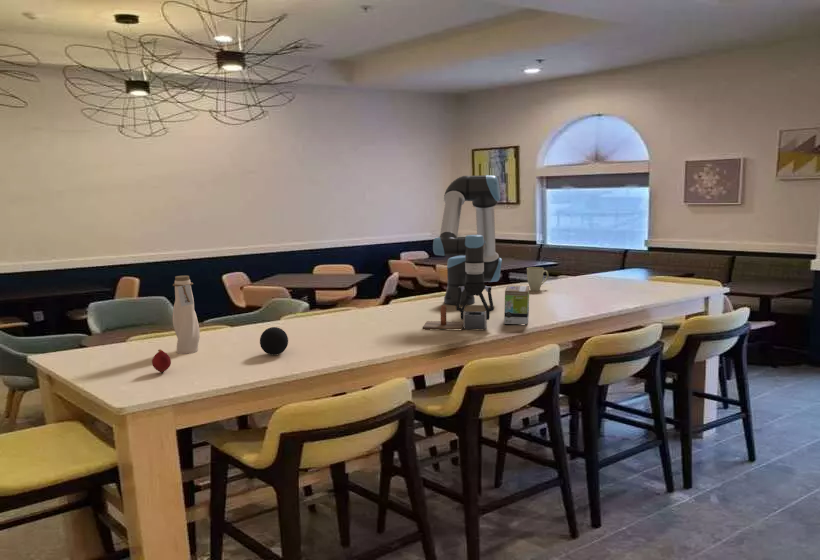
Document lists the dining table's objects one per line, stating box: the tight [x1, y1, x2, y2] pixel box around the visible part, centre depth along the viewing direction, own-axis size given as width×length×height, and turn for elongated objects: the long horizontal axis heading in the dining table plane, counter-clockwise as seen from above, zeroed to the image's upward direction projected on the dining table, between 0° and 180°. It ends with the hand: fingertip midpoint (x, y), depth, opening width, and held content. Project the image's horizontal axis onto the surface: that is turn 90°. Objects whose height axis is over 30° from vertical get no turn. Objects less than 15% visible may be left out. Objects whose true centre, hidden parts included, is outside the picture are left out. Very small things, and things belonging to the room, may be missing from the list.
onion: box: [151, 348, 172, 373], centre depth 223 cm, size 6×6×8 cm
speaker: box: [259, 326, 289, 356], centre depth 243 cm, size 10×10×10 cm
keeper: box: [421, 304, 463, 331], centre depth 282 cm, size 12×16×9 cm
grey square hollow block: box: [464, 310, 486, 330], centre depth 279 cm, size 8×8×6 cm
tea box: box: [503, 285, 530, 325], centre depth 289 cm, size 15×10×15 cm, turn 168°
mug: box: [526, 266, 549, 292], centre depth 366 cm, size 11×10×12 cm
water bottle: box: [172, 275, 201, 354], centre depth 248 cm, size 10×9×28 cm
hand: (475, 327), depth 279 cm, fingers closed on grey square hollow block, 8 cm apart
